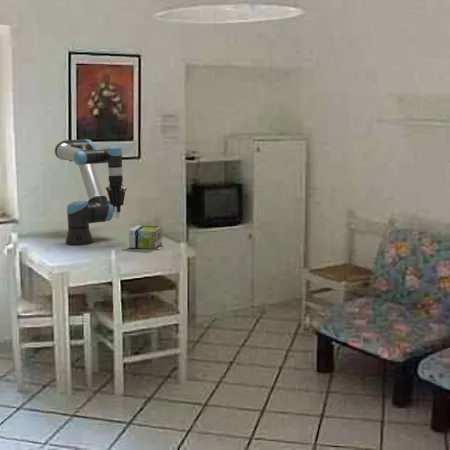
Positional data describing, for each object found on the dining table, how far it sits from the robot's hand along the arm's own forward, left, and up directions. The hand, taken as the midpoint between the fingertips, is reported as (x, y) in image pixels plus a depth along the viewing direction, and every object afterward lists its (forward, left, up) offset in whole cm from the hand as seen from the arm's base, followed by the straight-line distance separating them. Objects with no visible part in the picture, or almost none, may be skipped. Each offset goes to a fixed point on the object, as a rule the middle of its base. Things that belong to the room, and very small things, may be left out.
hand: (117, 218), depth 417 cm
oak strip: (+11, 0, -16) cm, 19 cm away
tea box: (+9, +1, -10) cm, 13 cm away
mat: (+19, 0, -16) cm, 25 cm away
